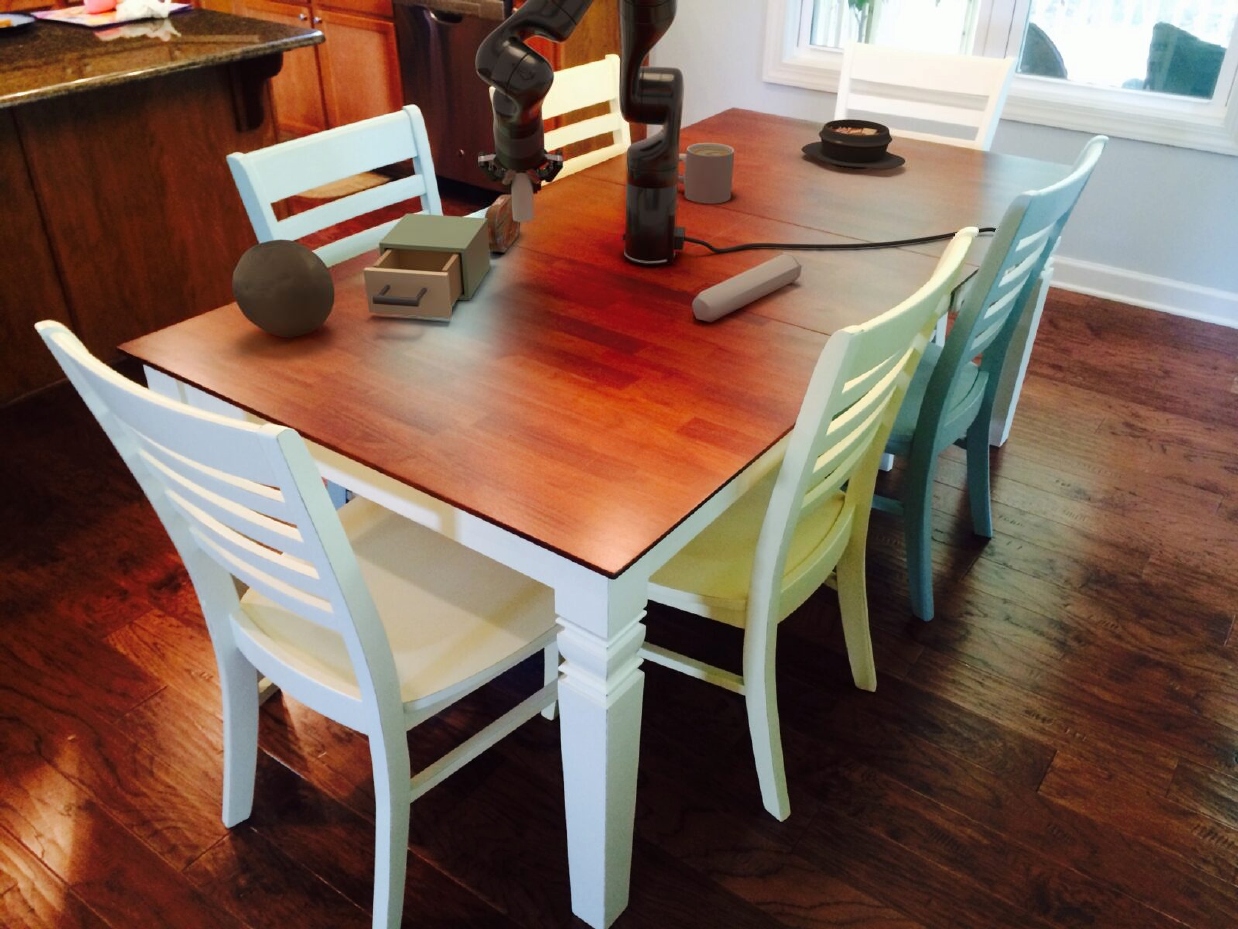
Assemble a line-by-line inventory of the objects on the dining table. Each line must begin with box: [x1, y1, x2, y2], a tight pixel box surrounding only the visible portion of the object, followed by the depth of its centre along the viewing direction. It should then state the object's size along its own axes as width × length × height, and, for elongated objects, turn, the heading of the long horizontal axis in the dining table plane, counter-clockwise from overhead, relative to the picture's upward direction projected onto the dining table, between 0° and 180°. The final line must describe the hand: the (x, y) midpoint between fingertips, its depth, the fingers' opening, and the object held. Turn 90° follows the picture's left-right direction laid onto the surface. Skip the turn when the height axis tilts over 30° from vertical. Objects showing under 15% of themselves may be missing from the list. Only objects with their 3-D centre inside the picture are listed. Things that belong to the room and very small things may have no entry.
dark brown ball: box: [231, 239, 336, 338], centre depth 149 cm, size 14×14×15 cm
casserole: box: [800, 118, 906, 171], centre depth 233 cm, size 25×19×8 cm
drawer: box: [363, 248, 464, 319], centre depth 159 cm, size 19×13×7 cm
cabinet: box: [378, 213, 491, 301], centre depth 170 cm, size 15×15×9 cm
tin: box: [484, 194, 521, 254], centre depth 185 cm, size 15×3×8 cm, turn 168°
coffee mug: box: [678, 142, 735, 205], centre depth 211 cm, size 13×10×10 cm
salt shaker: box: [510, 173, 535, 223], centre depth 163 cm, size 4×4×10 cm
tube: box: [691, 251, 803, 323], centre depth 165 cm, size 5×5×25 cm
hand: (522, 188), depth 165 cm, fingers closed on salt shaker, 3 cm apart
